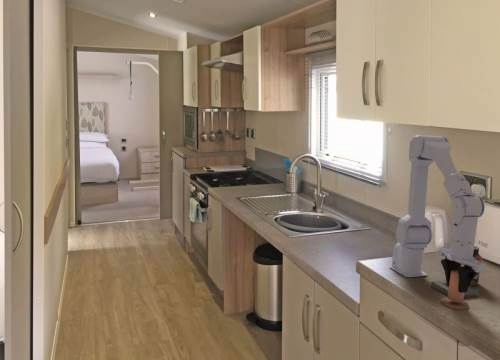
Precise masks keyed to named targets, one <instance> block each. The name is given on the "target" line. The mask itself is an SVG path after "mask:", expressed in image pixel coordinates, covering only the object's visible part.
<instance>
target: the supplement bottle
mask: <svg viewBox="0 0 500 360" xmlns="http://www.w3.org/2000/svg"><path fill="white" fill-rule="evenodd" d="M473 258H474V259H476V260H477V261H478V262H480V263H481V264H482V256H481V255H480V247H478V246H476V245H474V250H473ZM460 267H464V265H462V264H461V265H460ZM480 273H481V272H478V273H477V274H476V276H475V277H474V278H473V280H472V281H471V283H470V285H469V286H476V285H478V284H479V279H480Z"/></svg>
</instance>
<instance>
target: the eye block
mask: <svg viewBox="0 0 500 360" xmlns="http://www.w3.org/2000/svg"><path fill="white" fill-rule="evenodd" d="M430 287H431V288H433V289H435V290H437V291H438V292H440V293H441V294H445V295H446V296H448V290H449V286H447V283H446V279H445V280H434V281H433V280H432V281H431V286H430ZM479 292H480V291H479V290H478V289H477V288H474V287H472V286H471V285H469V287H468V290H467V292H465V293H464V298H470V297H478V296H479Z"/></svg>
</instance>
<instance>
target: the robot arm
mask: <svg viewBox="0 0 500 360" xmlns="http://www.w3.org/2000/svg"><path fill="white" fill-rule="evenodd" d="M451 147H452V145H451V143H450V140H449V139H448V137H447V136H446V135H441V136H440V135H439V136H438V135H420V134H416V135H414V136H413V137H412V138H411V140H410V141H409V148H408V149H409V150H408V151H409V152H408V161H410V163H411V164H410V172H409V173H410V174H409V175H410V176H409V188H408V189H409V190H408V202H407V203H408V205H407V214H405V216H403V217H402V218H400V219H399V220H398V222H397V228H396V230H395V238H396V242H397V243H396V244H395V245H394V247H393V250H392V261H391V265H389V267H388V268H389V269H392V270H393V271H395V272H396V273H398V274H399V275H402V276H403V277H406V278H415V277H426V276H428V273H426V272H425V271H423V263H424V257H425V248H428V246H429V244H430V243H431V242H432V240H433V231H432V222H431V221H430V220H429V219H428V218H427V216H425V215H426V206H427V205H426V204H427V190H428V179H429V178H428V177H429V167H430V166H431V164H432V163H435V164H436V166H437V168H438V169H439V171H440V172H441V174H442V176H443V178H444V180H443V186H444V188H445V191H446V193H447V194H448V196H449V199H450V201H451V203H450V212H451V222H452V224H453V225H452V232H451V239H450V246H449V248H446V247H440V248H439V249H438V255H439V256H441V257H445V258H443V259H442V258H441V259H440V263H441V266H442V268H443V271H444V275H445V280H446V283H447V286H449V283H450V275H451V271H452V270H458V274H459V287H458V289H459V292H460V293H465V292H467V290H468V287H469V286H471V285H470V283H471V281H472V280H473V278H474V277H475V276H476V274H477V273H478V272H480V273H484V270H485V264H484V263H482V262H481V263H480V262H478V261H477V260H476V259H474V258H473V250H474V246H475V243H476V241H475V240H476V235H477V228H478V220H479V218H480V217H482V216H483V214H484V212H485V207H486V206H485V202H484V199H483V197H482V196H481V195H478V194H477V193H475V192H473V190H472V188H471V186H470V185H469V183H468V181H467V179H466V177H465V176H464V174H463V173H459V172H458V171H457V168H456V166H455V164H454V162H453V159H452V157H451V154H450V152H451ZM461 264H462V265H464V267H460V265H461Z"/></svg>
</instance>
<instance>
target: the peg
mask: <svg viewBox="0 0 500 360" xmlns="http://www.w3.org/2000/svg"><path fill="white" fill-rule="evenodd" d="M458 287H459V274H458V270H452V271H451V275H450V283H449V290H448V295H447V297H448V299H449V300H451V301H454V302H463V301H465V300H464V298H465V297H464V293H460V292H459V289H458Z"/></svg>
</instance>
